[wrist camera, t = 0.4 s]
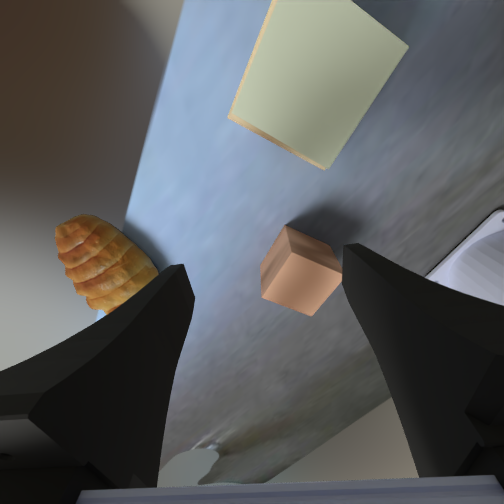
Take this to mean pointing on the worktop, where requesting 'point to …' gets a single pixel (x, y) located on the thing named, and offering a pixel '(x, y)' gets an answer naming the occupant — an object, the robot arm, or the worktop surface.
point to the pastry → (102, 261)
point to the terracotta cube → (299, 272)
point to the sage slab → (317, 74)
